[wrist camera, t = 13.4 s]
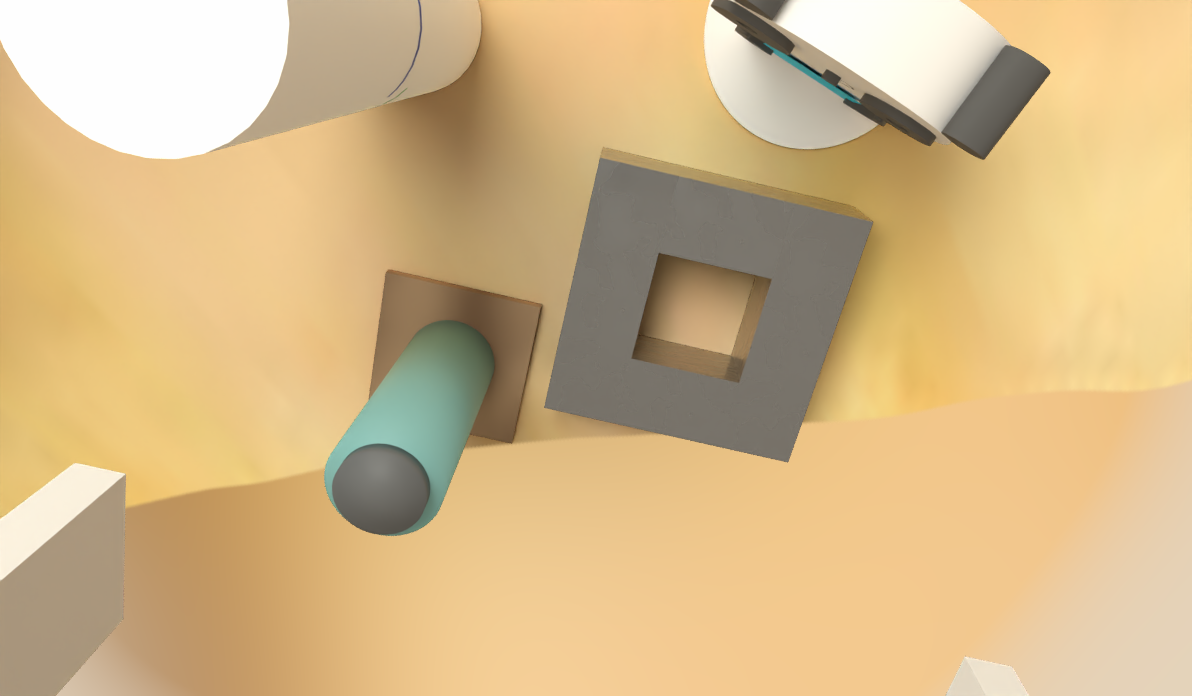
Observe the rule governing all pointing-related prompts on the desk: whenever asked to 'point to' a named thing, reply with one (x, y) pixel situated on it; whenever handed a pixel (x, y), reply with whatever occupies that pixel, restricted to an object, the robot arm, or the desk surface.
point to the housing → (716, 237)
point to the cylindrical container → (229, 64)
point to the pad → (490, 314)
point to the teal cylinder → (411, 432)
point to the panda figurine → (866, 71)
